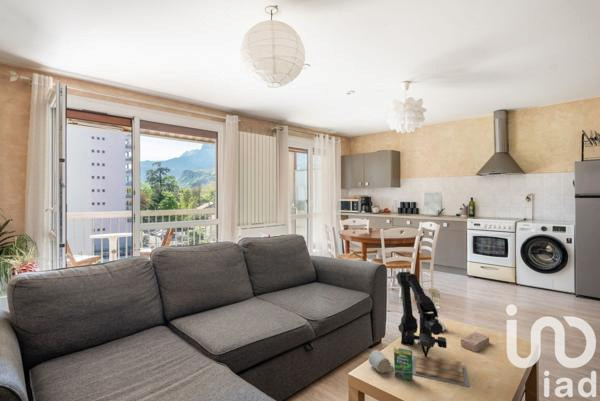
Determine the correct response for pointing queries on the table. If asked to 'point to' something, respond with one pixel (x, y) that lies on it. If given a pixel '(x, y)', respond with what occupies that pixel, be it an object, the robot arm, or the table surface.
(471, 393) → the table surface
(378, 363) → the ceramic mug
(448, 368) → the click plank
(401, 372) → the coffee box
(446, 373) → the laid board
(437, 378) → the underlay
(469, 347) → the brick
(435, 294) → the flower in vase
